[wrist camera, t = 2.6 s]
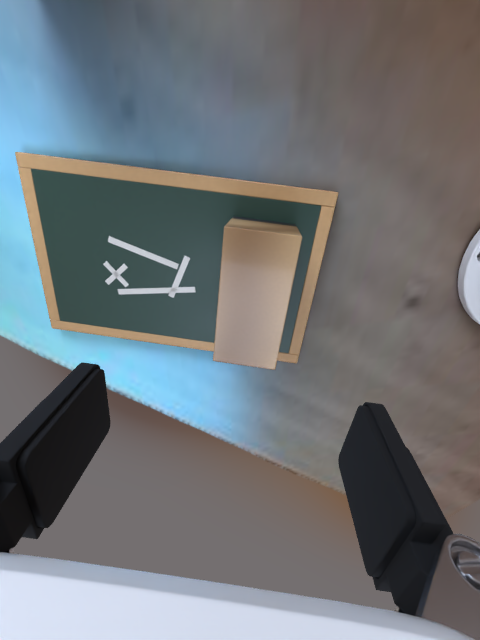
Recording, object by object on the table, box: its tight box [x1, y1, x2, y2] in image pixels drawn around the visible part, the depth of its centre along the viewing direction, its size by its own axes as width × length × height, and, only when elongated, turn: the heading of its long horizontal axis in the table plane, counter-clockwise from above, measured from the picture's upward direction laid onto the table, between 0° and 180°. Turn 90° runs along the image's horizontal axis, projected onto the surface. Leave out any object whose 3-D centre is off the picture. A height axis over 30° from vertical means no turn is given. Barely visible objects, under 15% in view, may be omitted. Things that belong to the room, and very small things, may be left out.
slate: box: [15, 152, 338, 363], centre depth 25 cm, size 24×15×1 cm, turn 84°
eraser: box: [213, 216, 302, 370], centre depth 22 cm, size 5×10×5 cm, turn 174°
